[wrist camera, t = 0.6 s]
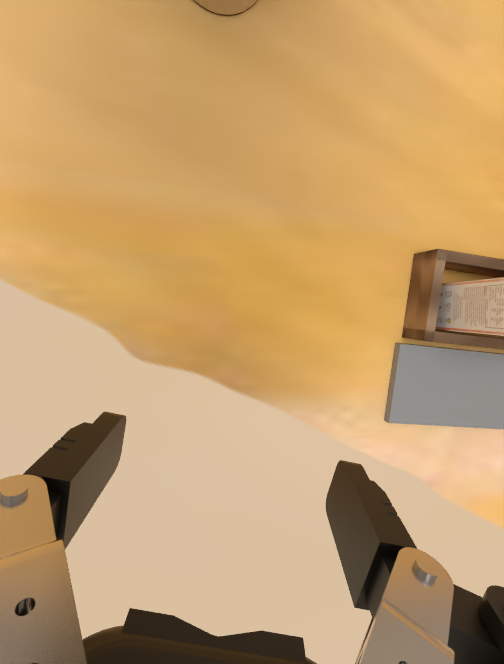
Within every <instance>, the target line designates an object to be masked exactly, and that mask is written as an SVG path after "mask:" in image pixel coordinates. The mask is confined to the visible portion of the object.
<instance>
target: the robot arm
mask: <svg viewBox="0 0 504 664" xmlns="http://www.w3.org/2000/svg"><path fill="white" fill-rule="evenodd" d="M195 1H196V2H197V3H198V4H199V5H201V6H203V7H204V8H206V9H207V10H210V11H212V12H215V13H218V14H224V15H231V14H237V13H240V12H243V11H245V10H247V9H248V8H250V7H251V6H252V5H253V4H254V3H255V2H256V1H257V0H195ZM125 425H126V416H124V415H119V414H114V413H109V412H103V413H102V414H101V415H100V416H99V417H98V418H97V419H96V420H95V422H94V423H93V424H90V423H82V424H80V425H78V426H76V427H74V428H72V429H70V430H69V431H68V432H67V433H66V434H65V435H64V436H63V437H61V439H60V440H58V441H57V442H56V443H55V444H54V445H53V447H52V448H50V449H49V450H48V451H47V452H46V453H45V454H44V455H43V456H42V457H40V458H39V459H38V460H37V461H36V462H35V463H34V464H33V465H32V466H31V467H30V468H29V469H28V470H27V471H26V472H25V473H24V474H23V475H15V476H10V477H7V478H4V479H1V480H0V664H316V663H315V662H313V661H312V660H310V659H308V658H307V657H305V650H304V642H303V638H301V637H295V636H289V635H283V634H278V633H272V632H266V631H256V632H249V633H242V634H235V635H228V636H219V637H218V636H214V635H211V634H209V633H207V632H205V631H203V630H201V629H199V628H197V627H195V626H193V625H191V624H189V623H187V622H185V621H183V620H181V619H179V618H177V617H175V616H172V615H167V614H161V613H155V612H149V611H143V610H137V609H131V608H130V609H129V612H128V615H127V618H126V621H125V624H124V626H117V627H113V628H109V629H105V630H102V631H100V632H97V633H95V634H93V635H90V636H88V637H86V638H85V639H83V640H82V636H81V631H80V626H79V620H78V616H77V610H76V606H75V600H74V596H73V590H72V585H71V579H70V575H69V569H68V564H67V559H66V554H65V549H66V547H67V546H68V544H69V543H70V541H71V539H72V538H73V536H74V535H75V533H76V532H77V530H78V528H79V527H80V525H81V524H82V522H83V521H84V519H85V517H86V516H87V514H88V513H89V511H90V509H91V508H92V506H93V505H94V503H95V502H96V500H97V498H98V497H99V495H100V494H101V492H102V491H103V489H104V487H105V486H106V484H107V483H108V481H109V480H110V478H111V476H112V475H113V473H114V472H115V470H116V468H117V465H118V463H119V460H120V456H121V451H122V444H123V438H124V432H125ZM326 512H327V516H328V520H329V523H330V526H331V530H332V533H333V536H334V540H335V543H336V546H337V550H338V553H339V557H340V560H341V563H342V567H343V570H344V574H345V577H346V580H347V584H348V587H349V590H350V594H351V597H352V600H353V604H354V607H355V608H360V609H366V610H370V612H371V615H372V619H371V622H370V624H369V627H368V630H367V632H366V635H365V638H364V640H363V643H362V646H361V649H360V651H359V654H358V657H357V659H356V662H355V664H504V587H500V586H490V587H489V588H487V590H486V592H485V594H484V596H483V598H482V597H480V596H478V595H476V594H474V593H471V592H469V591H467V590H465V589H463V588H461V587H458V586H456V585H454V584H453V582H452V579H451V577H450V576H449V574H448V573H447V571H446V570H445V569H444V568H443V566H442V565H441V564H440V563H439V562H438V561H436V560H435V559H434V558H433V557H431V556H430V555H428V554H426V553H425V552H423V551H421V550H418V549H417V548H416V546H415V544H414V542H413V540H412V539H411V537H410V535H409V533H408V532H407V530H406V528H405V526H404V525H403V523H402V521H401V519H400V518H399V517H398V516H397V512H396V511H395V509H394V507H393V506H392V504H391V502H390V500H389V498H388V497H387V495H386V493H385V492H384V491H383V490H382V489H381V488H380V487H379V486H378V485H377V484H376V483H375V482H374V481H370V480H369V478H368V476H367V474H366V472H365V470H364V468H363V467H362V465H361V464H357V463H351V462H347V461H339V462H338V464H337V467H336V470H335V473H334V476H333V479H332V482H331V485H330V488H329V491H328V494H327V498H326Z"/></svg>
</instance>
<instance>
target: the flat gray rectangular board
mask: <svg viewBox="0 0 504 664" xmlns="http://www.w3.org/2000/svg"><path fill="white" fill-rule="evenodd" d="M384 420H385V421H387V422H388V423H401V424H418V425H436V426H454V427H472V428H489V429H504V354H497V353H488V352H478V351H469V350H459V349H450V348H440V347H430V346H421V345H411V344H402V343H395V350H394V357H393V364H392V371H391V378H390V385H389V391H388V398H387V405H386V412H385V419H384Z"/></svg>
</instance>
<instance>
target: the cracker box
mask: <svg viewBox="0 0 504 664" xmlns="http://www.w3.org/2000/svg"><path fill="white" fill-rule="evenodd" d="M435 330H446V331H456V332H468V333H480V334H490V335H501V336H504V277H502V278H492V279H483V280H473V281H464V282H454V283H446V284H442V289H441V295H440V302H439V308H438V315H437V321H436V328H435Z"/></svg>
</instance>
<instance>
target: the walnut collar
mask: <svg viewBox="0 0 504 664" xmlns="http://www.w3.org/2000/svg"><path fill="white" fill-rule="evenodd" d="M444 269H449V270H455V271H462V272H468V273H475V274H481V275H488V276H494V277H501V278H502V277H504V260H503V259H497V258H491V257H485V256H479V255H472V254H466V253H460V252H454V251H448V250H442V249H435V250H431V251H426V252H422V253H418V254H414V260H413V267H412V273H411V280H410V287H409V294H408V301H407V308H406V314H405V321H404V328H403V335H402V337H404V338H410V339H416V340H423V341H431V342H440V343H450V344H459V345H468V346H478V347H487V348H496V349H504V339H498V338H489V337H480V336H471V335H463V334H454V333H445V332H436V331H435V328H436V321H437V315H438V308H439V302H440V295H441V289H442V282H443V275H444Z"/></svg>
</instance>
